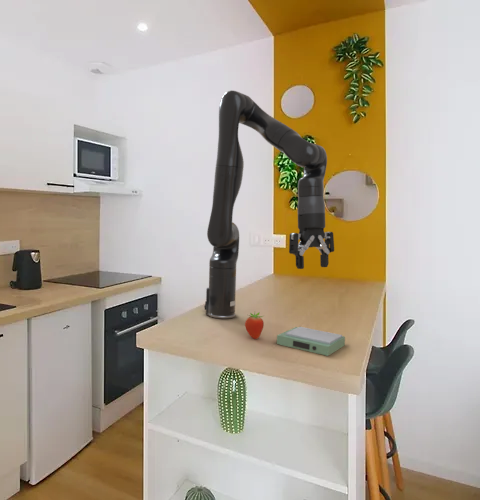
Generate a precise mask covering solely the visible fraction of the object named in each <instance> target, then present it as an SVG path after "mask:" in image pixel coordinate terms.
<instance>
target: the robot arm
mask: <svg viewBox="0 0 480 500" xmlns="http://www.w3.org/2000/svg"><path fill="white" fill-rule="evenodd" d="M240 124H241V125H244V126H246V127H248V128H251V129H252V130H254V131H255V132H257V133H258V134H259V135H260V136H261V137H262V138H263V139H264V141H266V142H267V143H268V144H270V145H271V146H273V147H274V148H275V149H277V150H278V151H279V152H281V153H283V154H284V155H285V156H286V158H287V159H288V160H290V161H291V162H292V163H293V164H295V165H297V166H298V167H301V168H303V175H302V177H300V178H299V180H298V181H297V182H298V183H297V229H298V232H291V233H289V240H288V241H289V242H288V243H289V244H288V253H289V254H290V255H293V256H295V268H296V269H298V270H304V269H305V256H304V254H305V252H306V251H307V250H308V249H309V248H315V249H317V250H318V251H319V253H320V256H319V257H320V259H319V261H320V267H321V268H328V265H329V254H330V253H333V252H335V240H334V238H335V237H334V232H333V231H325V228H326V202H325V189H324V187H325V186H324V179H325V175H326V171H327V165H328V155H327V152H326V150H325V148H324V146H321V145H319V144H315V143H312V142H310V141H309V140H306V139H304V138H303V137H302V136H301V135H300V133H299V132H297V131H296V130H294V129H293V128H291V127H289V126H288V125H287V124H285V123H283V122H281V121H279V119H276V118H275V117H273V116H272V115H270V114H268V113H267V111H265V110H264V109H262V108H261V107H260V105H259V104H258V103H256V101H254V100H253V99H252V97H250V96H249V95H247V94H244V93H242V92H240V91H237V90H228V91H227V92H225V93H224V94H223V96H222V97H221V99H220V102H219V106H218V141H217V151H216V161H215V168H214V170H215V172H214V180H213V181H214V183H213V192H212V193H213V194H212V205H211V210H210V211H211V212H210V217H209V221H208V224H207V225H208V226H207V232H206V235H207V240H208V242H209V244H210V245H211V246H212V247H213V249H212V254H211V257H210V258H209V263H208V264H209V266H208V267H209V268H208V269H209V271H208V287H206V290H205V291H206V292H205V293H206V294H205V295H206V296H205V302H204V310H205V315H206V316H208V317H211V318H214V319H219V320H220V319H222V320H223V319H225V320H227V319H233V318H235V317H236V290H237V288H236V287H237V263H238V259H239V254H240V253H239V252H240V251H239V250H240V230H239V227H238V226H237V224H236V223H235V222H233V214H234V206H235V203H236V200H237V198H238V195H239V193H240V189H241V188H242V187H241V186H242V182H243V175H244V165H245V163H244V162H245V161H244V155H243V153H242V152H243V151H242V148H241V144H240V140H239V127H240ZM299 240H300V241H299Z"/></svg>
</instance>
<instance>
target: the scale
mask: <svg viewBox="0 0 480 500" xmlns="http://www.w3.org/2000/svg"><path fill="white" fill-rule="evenodd" d="M276 344H277V345H280V346H282V347H283V346H284V347H288V348H291V349H296V350H301V351H304V352H309V353H314V354H317V355H321V356H326V357H329V356H330V355H332V354H334V353H335V352H337V351H339V350H340V349H341V348H343V347H344V346H345V345H346V336H344V335H343V334H339V333H334V332H329V331H324V330H319V329H314V328H309V327H304V326H295V327H292V328H291V329H288V330H286V331H283V332H281V333H279V334H277V335H276Z"/></svg>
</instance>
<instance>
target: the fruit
mask: <svg viewBox="0 0 480 500" xmlns="http://www.w3.org/2000/svg"><path fill="white" fill-rule="evenodd" d="M253 313H254V314H253ZM253 313H252V312H250V313H249V314H250V315H248V317H247V318H246V320H245V322H244V328H245V330H246V332H247V333H248V336H250V338H252V339H254V340H257V339H259V338H260V336H261V335H262V332H263V329H264V326H265V325H264V323H265V322H264V320H263V319H262V318H263V317H264V315H262V316H261V315H260V312H257V313H256V312H253Z"/></svg>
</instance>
